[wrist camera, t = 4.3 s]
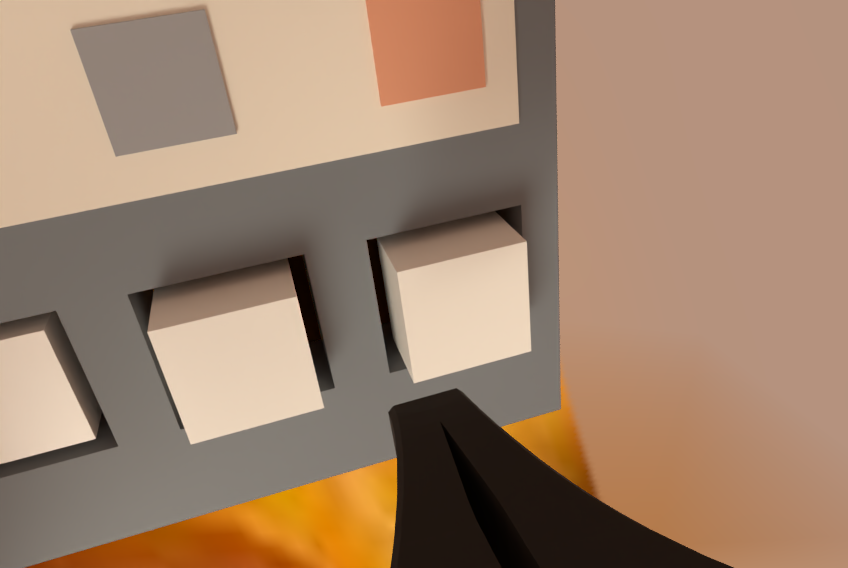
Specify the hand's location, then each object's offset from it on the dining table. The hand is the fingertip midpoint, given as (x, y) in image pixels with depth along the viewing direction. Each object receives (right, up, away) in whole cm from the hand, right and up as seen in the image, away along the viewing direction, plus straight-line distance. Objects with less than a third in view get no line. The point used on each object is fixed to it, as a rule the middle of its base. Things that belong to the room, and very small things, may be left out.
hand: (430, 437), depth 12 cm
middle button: (-5, +2, +5) cm, 7 cm away
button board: (-6, +4, +5) cm, 9 cm away
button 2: (-10, +1, +5) cm, 11 cm away
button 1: (0, +3, +6) cm, 6 cm away
